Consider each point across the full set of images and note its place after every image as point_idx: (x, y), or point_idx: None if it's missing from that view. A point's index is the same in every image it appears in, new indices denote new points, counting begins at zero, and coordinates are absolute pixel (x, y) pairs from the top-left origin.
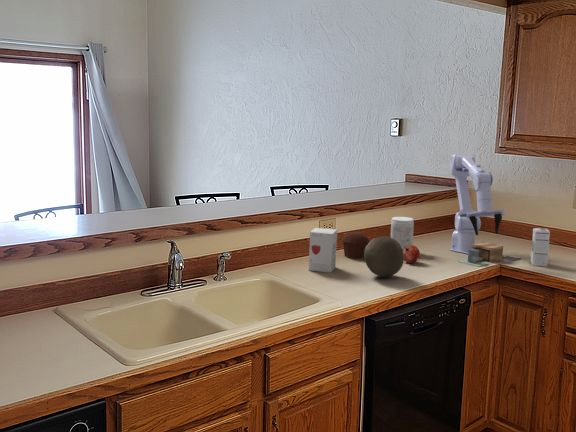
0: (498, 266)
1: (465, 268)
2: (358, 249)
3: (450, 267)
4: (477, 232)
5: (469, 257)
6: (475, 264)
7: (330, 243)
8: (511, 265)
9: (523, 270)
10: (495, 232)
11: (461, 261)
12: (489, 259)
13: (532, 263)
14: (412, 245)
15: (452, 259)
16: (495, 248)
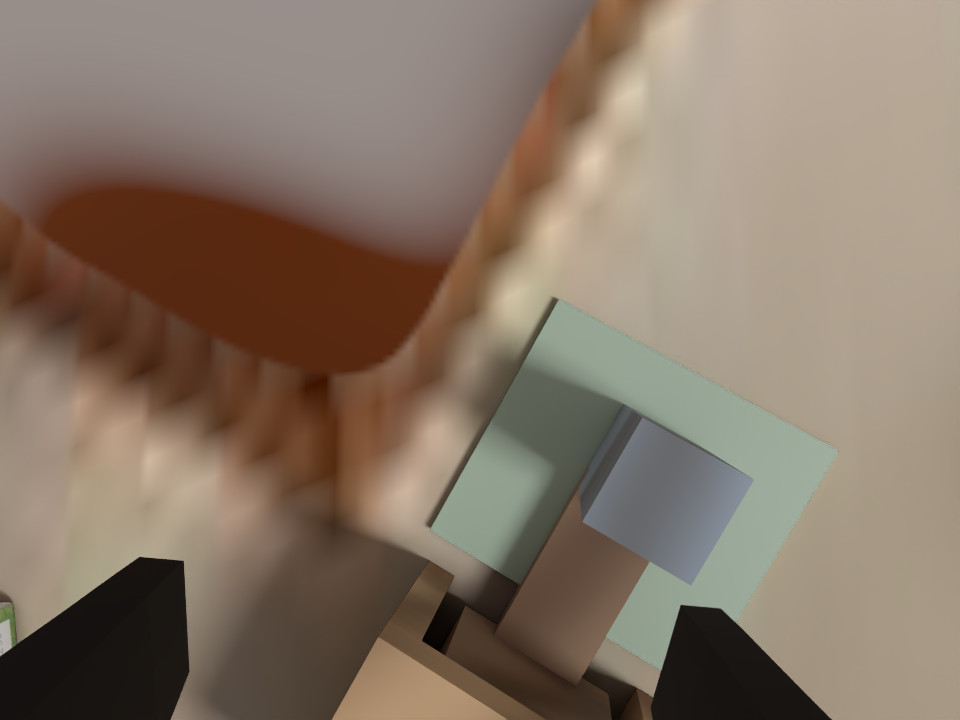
0: (352, 409)
1: (720, 144)
2: None
3: (907, 110)
4: (688, 694)
5: (701, 448)
6: (607, 369)
7: None
8: (219, 516)
9: (113, 335)
10: (176, 564)
11: (785, 459)
12: (444, 586)
13: (2, 622)
14: None
15: (907, 560)
16: (336, 714)
